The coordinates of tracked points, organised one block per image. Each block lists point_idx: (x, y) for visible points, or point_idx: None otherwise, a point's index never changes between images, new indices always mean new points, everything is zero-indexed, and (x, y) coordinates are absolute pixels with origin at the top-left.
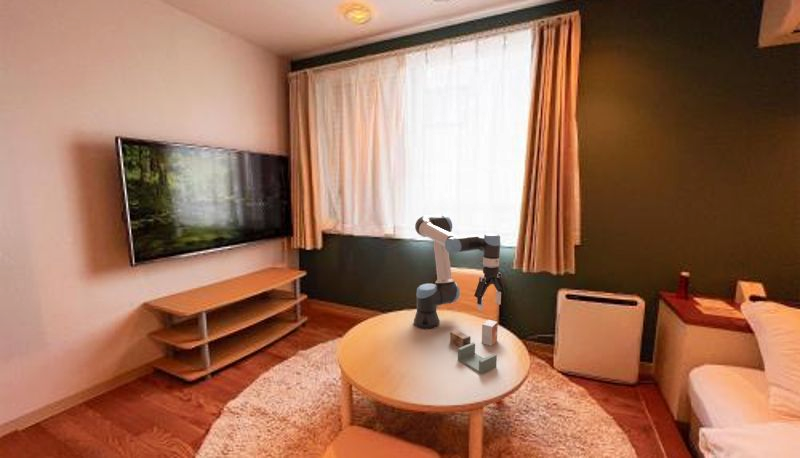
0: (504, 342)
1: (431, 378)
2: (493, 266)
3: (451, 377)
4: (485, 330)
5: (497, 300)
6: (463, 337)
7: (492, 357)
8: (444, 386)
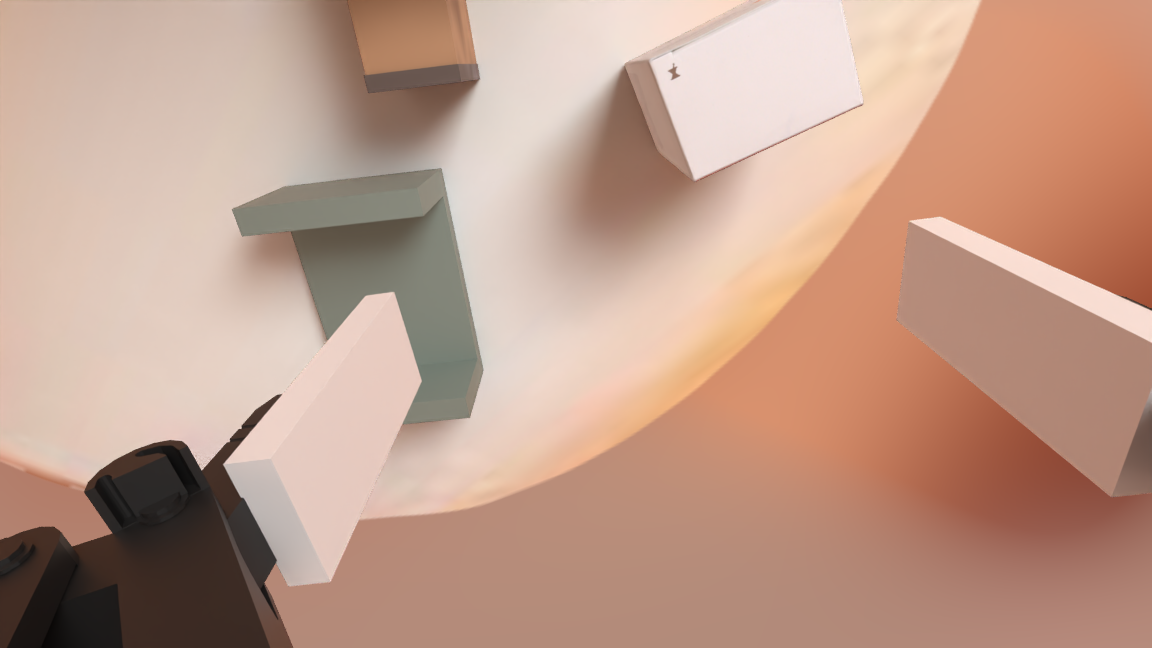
0: (798, 156)
1: (20, 277)
2: None
3: (157, 325)
4: (653, 103)
5: (944, 302)
6: (385, 54)
7: (425, 420)
8: (85, 371)
